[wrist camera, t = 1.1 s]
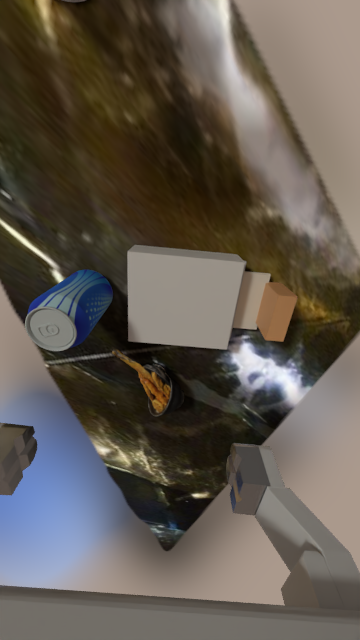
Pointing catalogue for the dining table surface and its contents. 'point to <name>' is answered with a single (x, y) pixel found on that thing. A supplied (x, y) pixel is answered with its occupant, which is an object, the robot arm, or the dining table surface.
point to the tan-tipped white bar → (264, 306)
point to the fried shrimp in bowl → (156, 387)
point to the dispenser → (182, 296)
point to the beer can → (68, 310)
